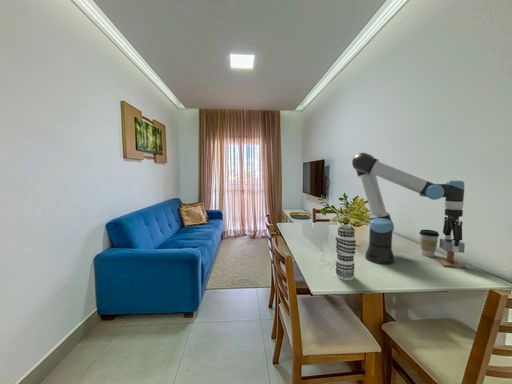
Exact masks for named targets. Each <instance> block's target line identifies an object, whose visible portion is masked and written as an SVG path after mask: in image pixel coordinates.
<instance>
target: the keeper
mask: <svg viewBox="0 0 512 384" xmlns="http://www.w3.org/2000/svg"><path fill="white" fill-rule="evenodd" d="M434 260H435V261H436V262H437V263H439V265H441V266H442V267H445V268H446V267H447V268H455V269H467V266H466V265H464V264H463V263H461V262H460V261H458V260H457V259H455V252H447V251H446V258H438V257H435V259H434Z"/></svg>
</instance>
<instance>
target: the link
mask: <svg viewBox="0 0 512 384" xmlns="http://www.w3.org/2000/svg"><path fill="white" fill-rule="evenodd" d="M452 239H453V238H451V239H445V238H439V248H440V249H442V250H443V251H444V252H446V253H447V252H452ZM465 244H466V243H465V242H462V240H460V241H459V252H458V253H463V254H465V246H466V245H465Z"/></svg>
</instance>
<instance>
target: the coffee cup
mask: <svg viewBox="0 0 512 384" xmlns="http://www.w3.org/2000/svg"><path fill="white" fill-rule="evenodd" d="M418 234H419V241H420V242H419V244H420V251H421V255H422V256H423V257H429V258H434V256H435V254H436V249H437V245H438V240H439V237H440V234H439V231H436V230H433V229H420V231H419V232H418Z"/></svg>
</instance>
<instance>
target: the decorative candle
mask: <svg viewBox="0 0 512 384" xmlns="http://www.w3.org/2000/svg"><path fill="white" fill-rule="evenodd" d="M355 231H356V229H355V228H354V227H353V226H352V225H348V224H341V225H339V227H338V228H337V235H336V237H335V241H336V242H335V244H336V245H335V247H336V249H335V251H336V252H335V253H336V261H335V266H336V267H335V277H337V278H338V279H339V280H340V279H341V280H344V281H345V280H346V281H351V280H354V278H355V276H354V275H355V259H354V258H355V257H354V256H355V255H356V251H355V250H356V246H357V244H356V243H357V240H356V236H355Z"/></svg>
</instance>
